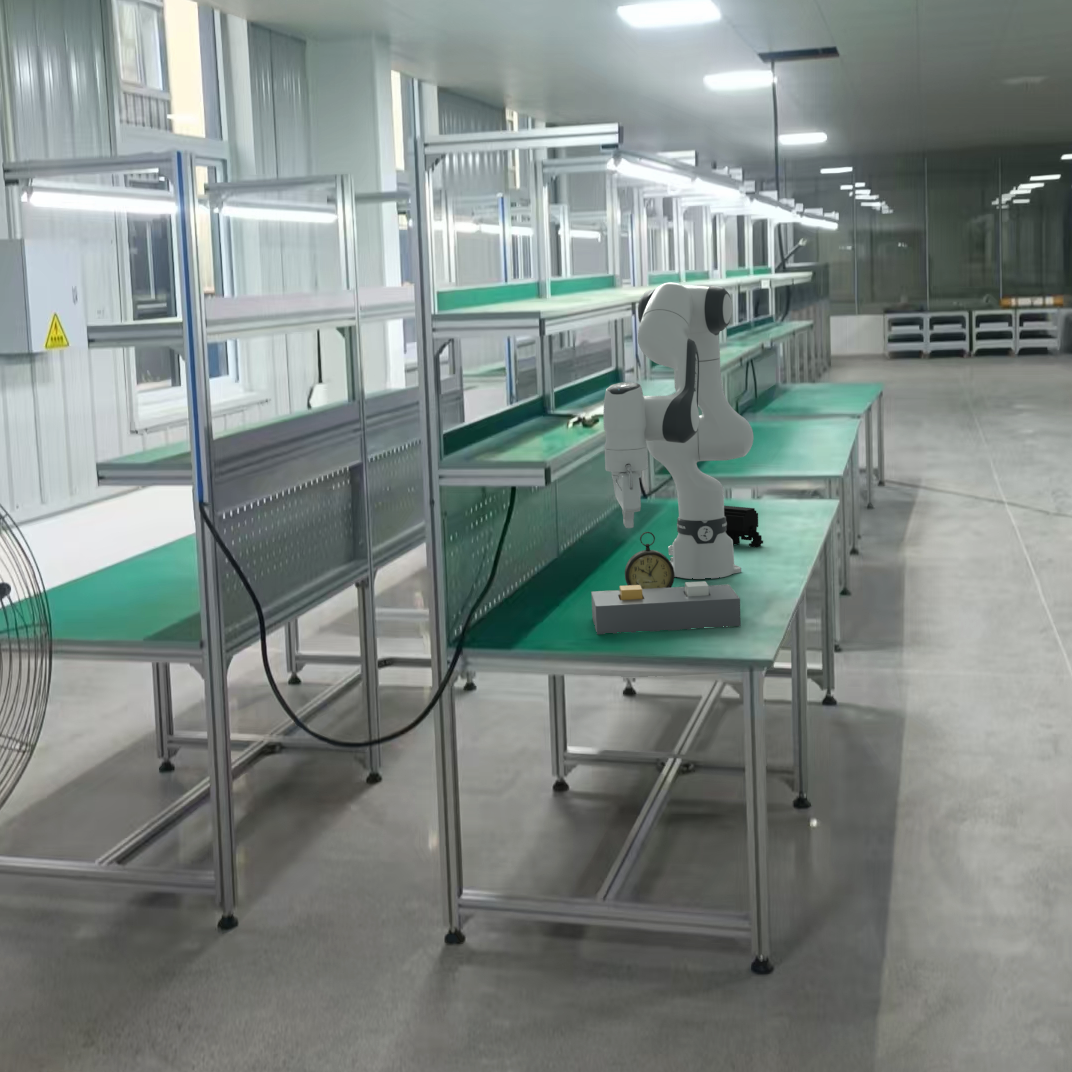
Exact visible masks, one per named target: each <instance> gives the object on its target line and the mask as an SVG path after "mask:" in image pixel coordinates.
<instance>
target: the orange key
mask: <svg viewBox="0 0 1072 1072" xmlns="http://www.w3.org/2000/svg"><path fill="white" fill-rule="evenodd" d="M619 590H620V600H632V599H643V597H642V588H641V586H640V585H619Z"/></svg>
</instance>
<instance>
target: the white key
mask: <svg viewBox="0 0 1072 1072" xmlns="http://www.w3.org/2000/svg"><path fill="white" fill-rule="evenodd" d="M708 585H709V584H708V583H707V582H706V580H705V581H688V582H687V581H686V582H684V587H685V595H686V597H688V596H707V595H709V586H708Z"/></svg>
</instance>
